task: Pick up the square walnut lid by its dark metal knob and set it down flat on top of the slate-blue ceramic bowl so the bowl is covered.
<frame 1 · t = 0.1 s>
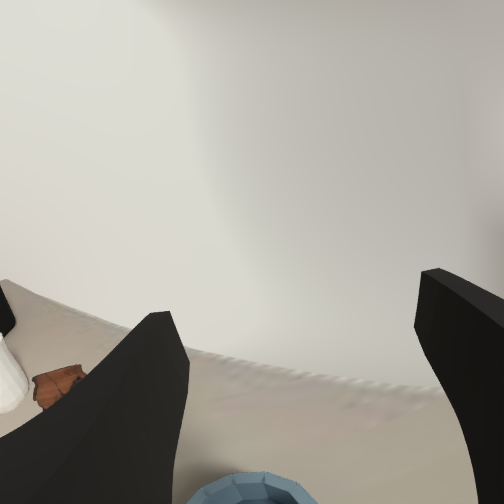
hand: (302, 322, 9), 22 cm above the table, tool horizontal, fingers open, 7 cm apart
cup: (9, 397, 35), on the table
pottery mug: (81, 415, 33), on the table
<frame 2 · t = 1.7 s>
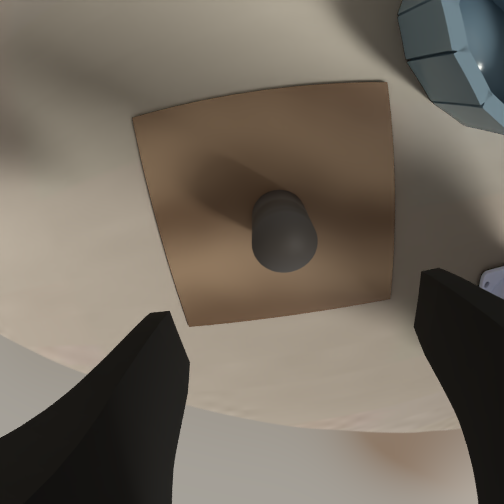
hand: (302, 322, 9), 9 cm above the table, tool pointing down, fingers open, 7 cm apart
ceramic bowl: (471, 46, 12), on the table
walnut lid: (277, 210, 17), on the table
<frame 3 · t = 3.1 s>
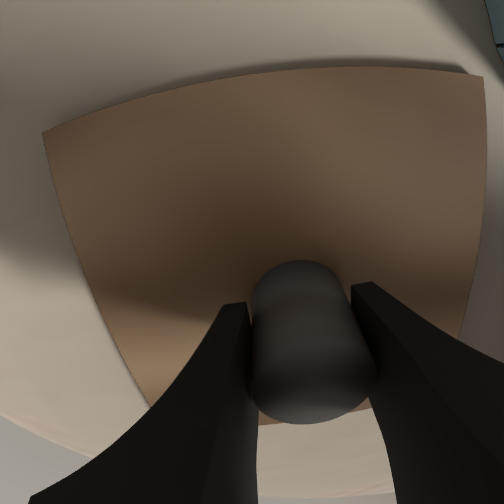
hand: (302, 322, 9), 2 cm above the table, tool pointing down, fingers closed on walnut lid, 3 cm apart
walnut lid: (294, 287, 10), on the table, touching gripper
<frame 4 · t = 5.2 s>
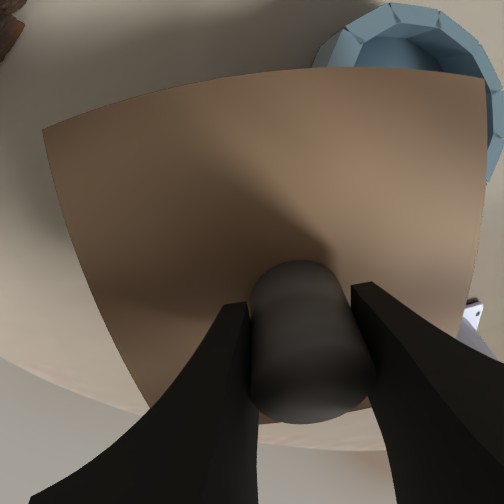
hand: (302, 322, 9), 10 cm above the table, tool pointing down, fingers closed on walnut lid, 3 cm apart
ceramic bowl: (391, 106, 15), on the table
walnut lid: (293, 286, 10), point 9 cm above the table, touching gripper
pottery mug: (0, 13, 11), on the table
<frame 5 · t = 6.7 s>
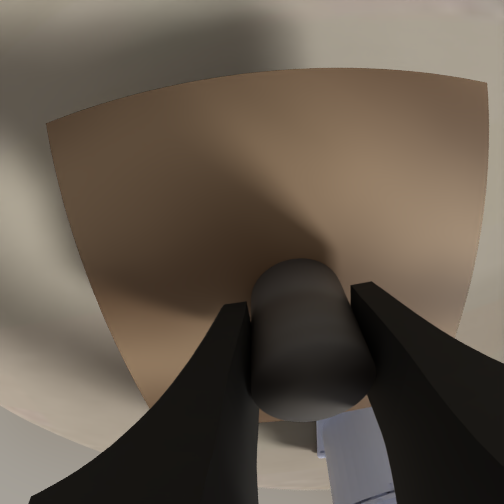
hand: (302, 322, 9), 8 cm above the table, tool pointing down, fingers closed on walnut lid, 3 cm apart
walnut lid: (294, 285, 10), point 6 cm above the table, touching gripper
when the fingers open (8 cm above the table, at t = 7.6 s): walnut lid drops 1 cm, resting on ceramic bowl.
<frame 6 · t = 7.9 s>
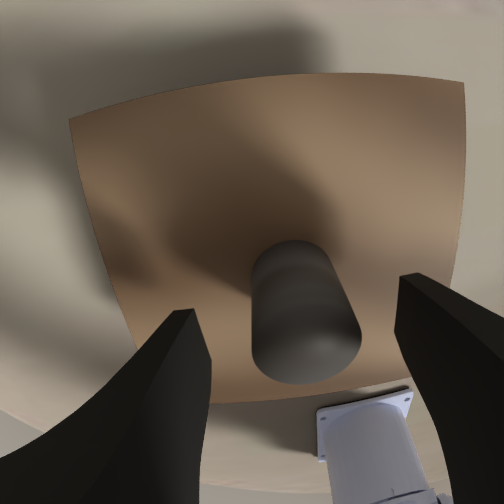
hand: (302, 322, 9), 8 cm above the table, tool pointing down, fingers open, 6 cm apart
walnut lid: (290, 266, 11), point 4 cm above the table, touching ceramic bowl
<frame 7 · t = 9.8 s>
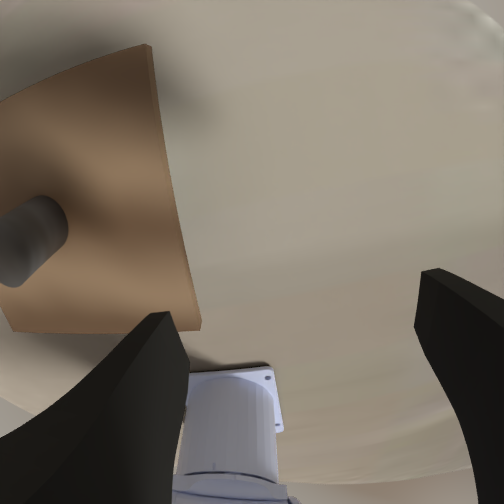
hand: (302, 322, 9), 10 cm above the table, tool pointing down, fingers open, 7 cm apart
walnut lid: (53, 217, 13), point 4 cm above the table, touching ceramic bowl
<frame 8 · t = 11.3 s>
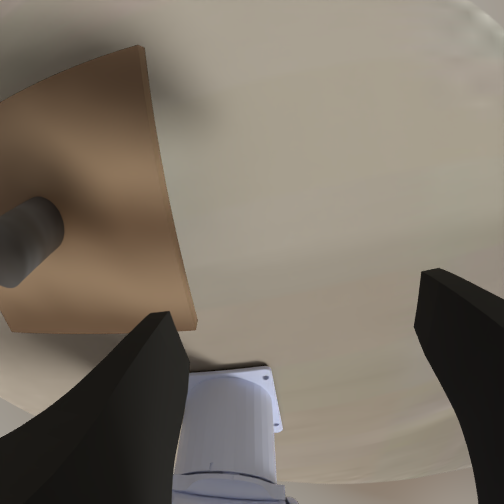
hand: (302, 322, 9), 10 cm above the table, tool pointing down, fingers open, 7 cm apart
walnut lid: (50, 218, 13), point 4 cm above the table, touching ceramic bowl
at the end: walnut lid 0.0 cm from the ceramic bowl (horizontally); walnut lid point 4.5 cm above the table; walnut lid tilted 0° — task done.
